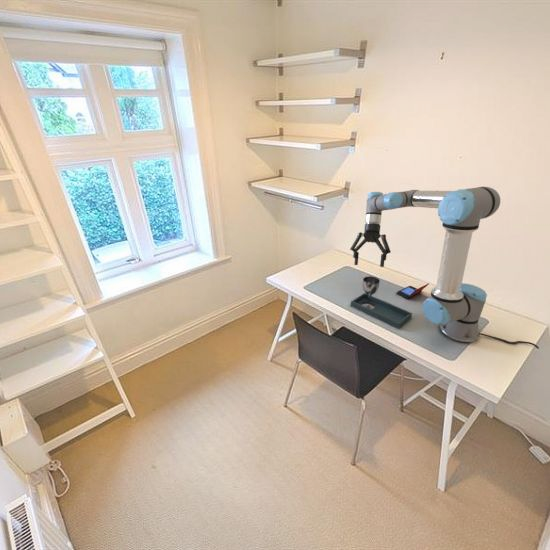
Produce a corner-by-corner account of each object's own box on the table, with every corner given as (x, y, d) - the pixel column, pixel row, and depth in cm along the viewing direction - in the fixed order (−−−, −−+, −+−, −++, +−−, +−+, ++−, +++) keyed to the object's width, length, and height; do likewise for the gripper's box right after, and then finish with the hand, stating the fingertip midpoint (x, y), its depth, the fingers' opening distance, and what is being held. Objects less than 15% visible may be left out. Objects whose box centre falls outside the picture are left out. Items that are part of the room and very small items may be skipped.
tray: (411, 318, 151) (412, 313, 150) (398, 328, 144) (399, 323, 143) (363, 297, 169) (364, 292, 167) (350, 306, 162) (351, 301, 160)
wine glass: (376, 310, 157) (380, 284, 150) (360, 309, 158) (363, 283, 151) (375, 302, 164) (379, 277, 157) (359, 300, 165) (362, 275, 158)
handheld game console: (409, 287, 178) (412, 275, 174) (427, 295, 170) (430, 283, 166) (395, 293, 171) (397, 281, 168) (413, 302, 163) (415, 290, 160)
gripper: (393, 226, 162) (389, 267, 163) (346, 222, 160) (342, 264, 161) (400, 225, 154) (396, 267, 155) (351, 220, 152) (347, 264, 153)
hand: (368, 266), depth 158 cm, fingers open, 13 cm apart
